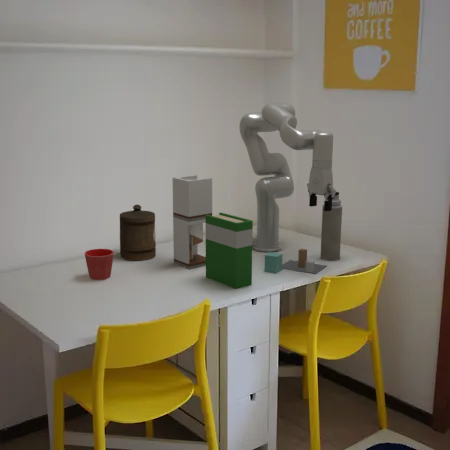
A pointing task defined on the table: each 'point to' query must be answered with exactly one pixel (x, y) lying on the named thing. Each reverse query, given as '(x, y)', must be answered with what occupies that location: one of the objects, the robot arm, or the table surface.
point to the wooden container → (137, 235)
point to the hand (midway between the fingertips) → (320, 208)
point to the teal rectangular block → (273, 262)
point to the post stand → (303, 264)
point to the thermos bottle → (331, 230)
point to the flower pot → (99, 263)
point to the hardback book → (229, 250)
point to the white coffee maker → (190, 218)
